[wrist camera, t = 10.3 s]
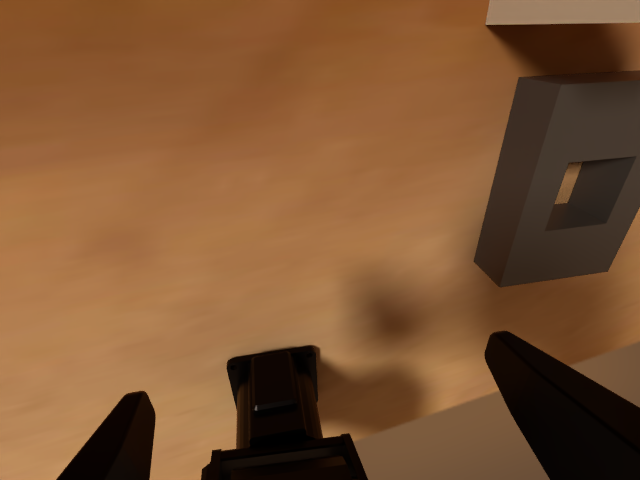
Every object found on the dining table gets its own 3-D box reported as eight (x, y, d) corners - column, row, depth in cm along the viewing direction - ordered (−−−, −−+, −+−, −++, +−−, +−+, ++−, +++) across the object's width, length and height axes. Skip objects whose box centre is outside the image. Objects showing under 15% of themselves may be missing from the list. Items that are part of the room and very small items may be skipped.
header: (572, 248, 26) (607, 271, 24) (473, 261, 25) (499, 287, 23) (646, 70, 20) (704, 76, 17) (518, 77, 19) (561, 84, 16)
